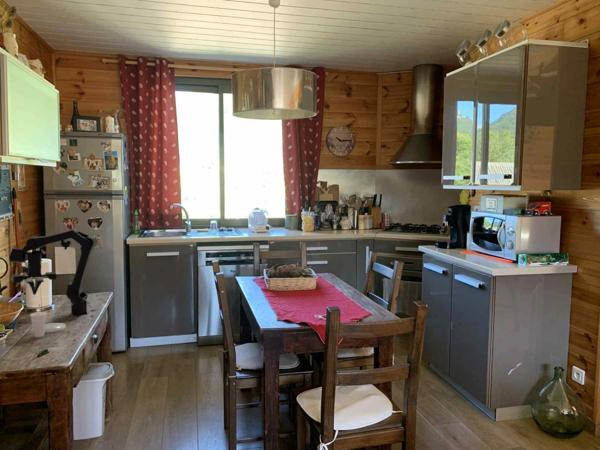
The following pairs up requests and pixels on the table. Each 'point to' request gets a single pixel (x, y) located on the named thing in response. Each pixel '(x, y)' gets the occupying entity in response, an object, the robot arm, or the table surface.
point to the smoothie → (38, 323)
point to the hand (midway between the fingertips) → (34, 294)
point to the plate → (54, 327)
